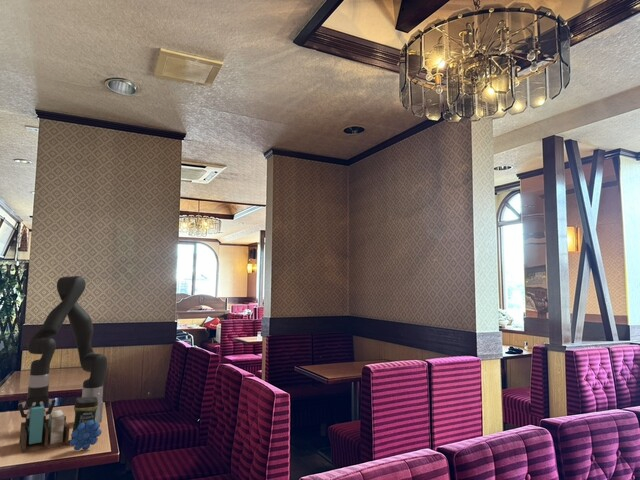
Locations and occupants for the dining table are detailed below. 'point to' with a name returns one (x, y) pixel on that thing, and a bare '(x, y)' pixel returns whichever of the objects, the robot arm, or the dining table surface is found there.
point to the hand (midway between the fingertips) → (35, 425)
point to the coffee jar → (85, 410)
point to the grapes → (85, 435)
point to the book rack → (47, 433)
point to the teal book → (35, 425)
